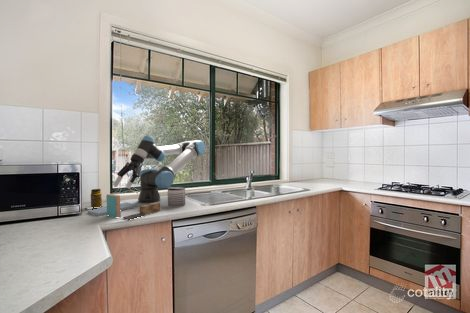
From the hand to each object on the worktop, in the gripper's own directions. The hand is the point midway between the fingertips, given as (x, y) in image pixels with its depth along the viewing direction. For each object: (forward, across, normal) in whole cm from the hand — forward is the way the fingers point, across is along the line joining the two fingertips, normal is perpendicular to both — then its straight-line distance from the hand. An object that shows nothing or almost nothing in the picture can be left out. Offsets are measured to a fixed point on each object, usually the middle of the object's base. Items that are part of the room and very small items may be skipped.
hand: (121, 186), depth 134 cm
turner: (+11, +16, +12) cm, 23 cm away
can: (-4, +15, +33) cm, 36 cm away
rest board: (+12, -11, +10) cm, 19 cm away
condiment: (+14, -28, +7) cm, 32 cm away
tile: (+17, +4, +3) cm, 18 cm away
